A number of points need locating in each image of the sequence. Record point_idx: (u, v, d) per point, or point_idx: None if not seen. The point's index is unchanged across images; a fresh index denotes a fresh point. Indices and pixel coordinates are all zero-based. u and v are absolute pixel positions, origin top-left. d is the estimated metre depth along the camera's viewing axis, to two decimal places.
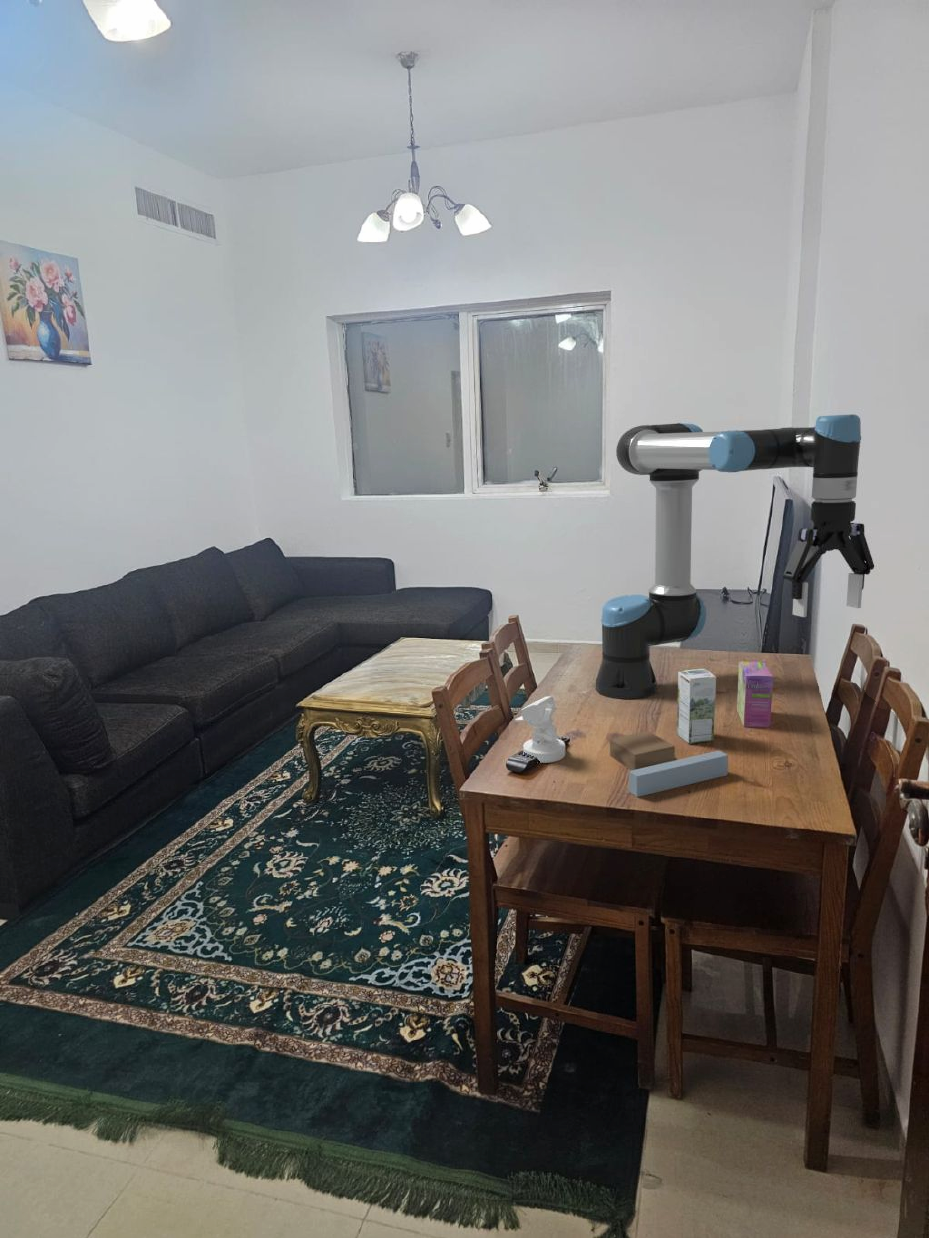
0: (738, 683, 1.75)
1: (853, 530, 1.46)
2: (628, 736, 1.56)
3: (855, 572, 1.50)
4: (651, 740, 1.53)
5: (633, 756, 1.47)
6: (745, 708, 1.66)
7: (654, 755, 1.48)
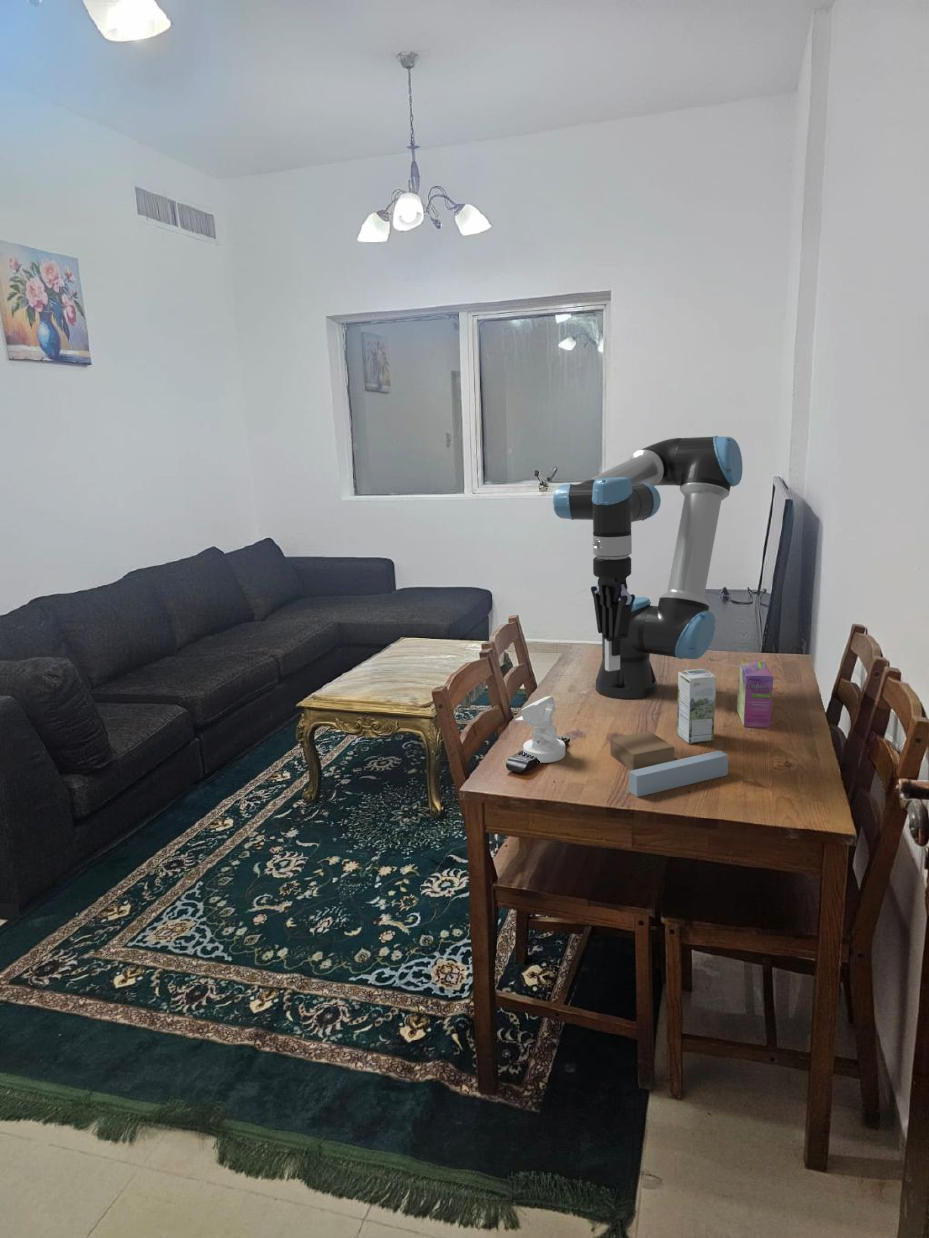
0: (738, 683, 1.75)
1: (622, 595, 1.51)
2: (629, 736, 1.56)
3: None
4: (651, 740, 1.53)
5: (631, 755, 1.48)
6: (745, 708, 1.66)
7: (653, 755, 1.48)
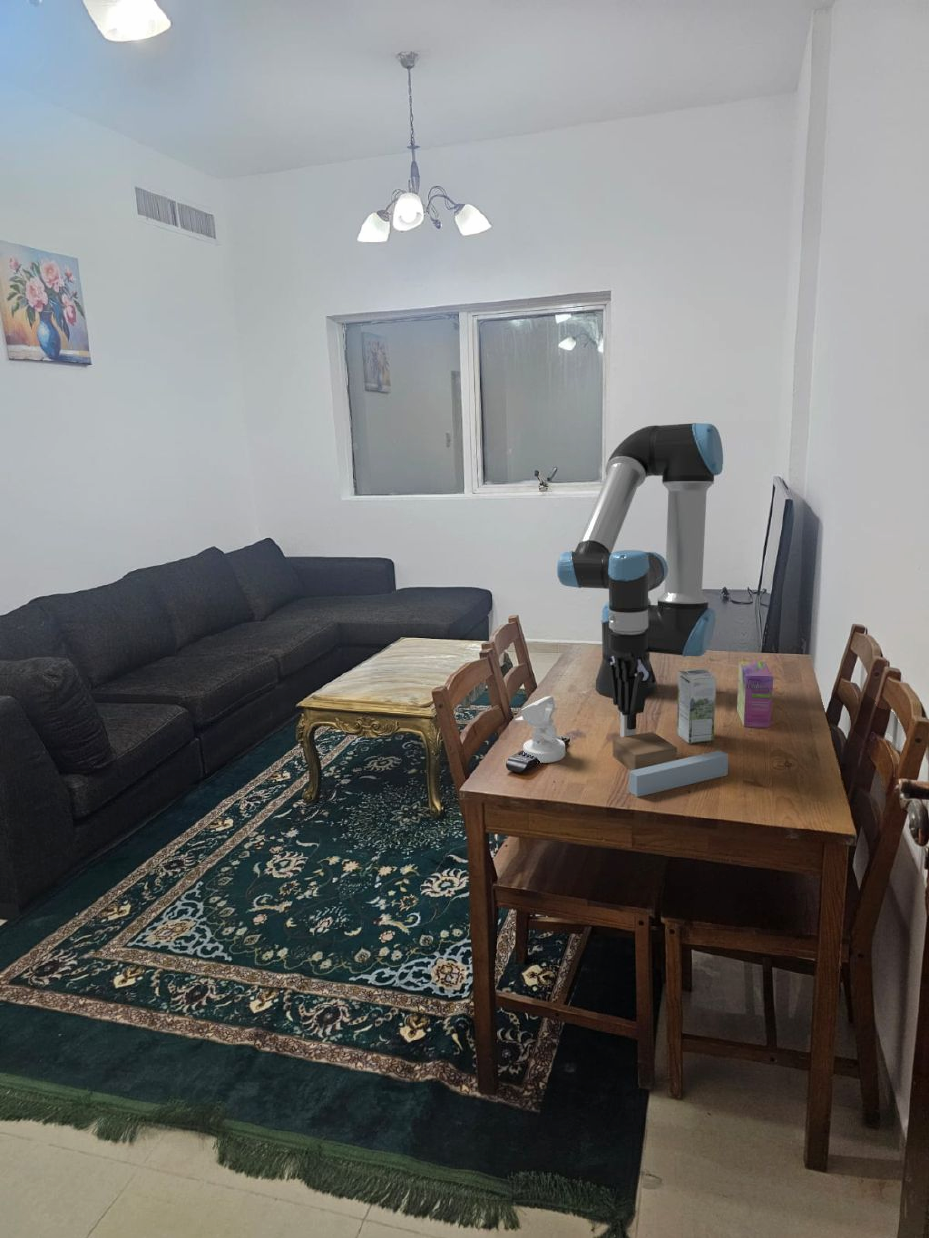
0: (738, 683, 1.75)
1: (638, 671, 1.49)
2: (632, 736, 1.55)
3: None
4: (654, 740, 1.52)
5: (633, 756, 1.47)
6: (745, 708, 1.66)
7: (655, 756, 1.48)
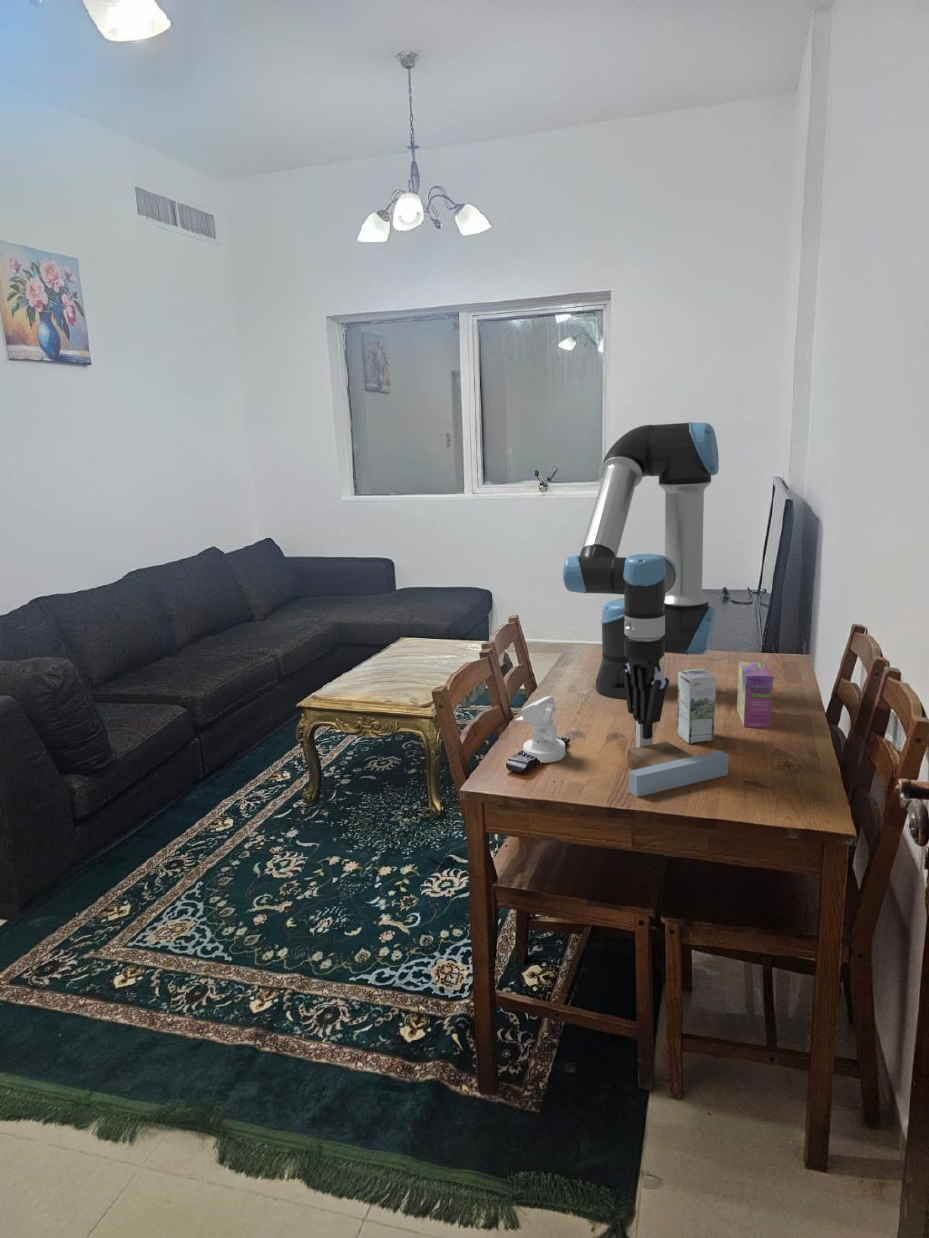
0: (738, 683, 1.75)
1: (655, 678, 1.44)
2: (647, 747, 1.50)
3: None
4: (671, 751, 1.48)
5: None
6: (745, 708, 1.66)
7: None
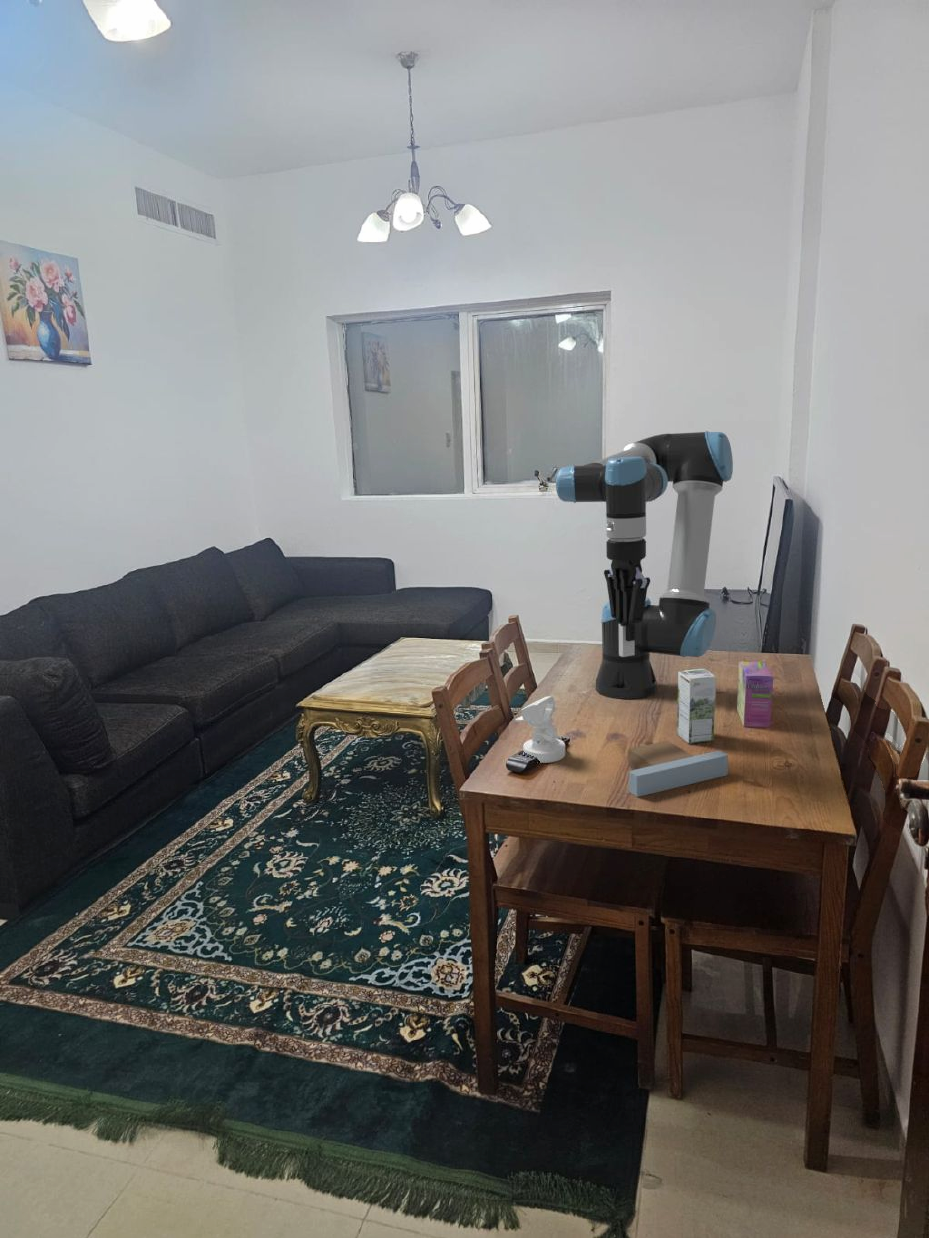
0: (738, 683, 1.75)
1: (636, 578, 1.47)
2: (647, 746, 1.50)
3: None
4: (671, 750, 1.48)
5: None
6: (745, 708, 1.66)
7: None
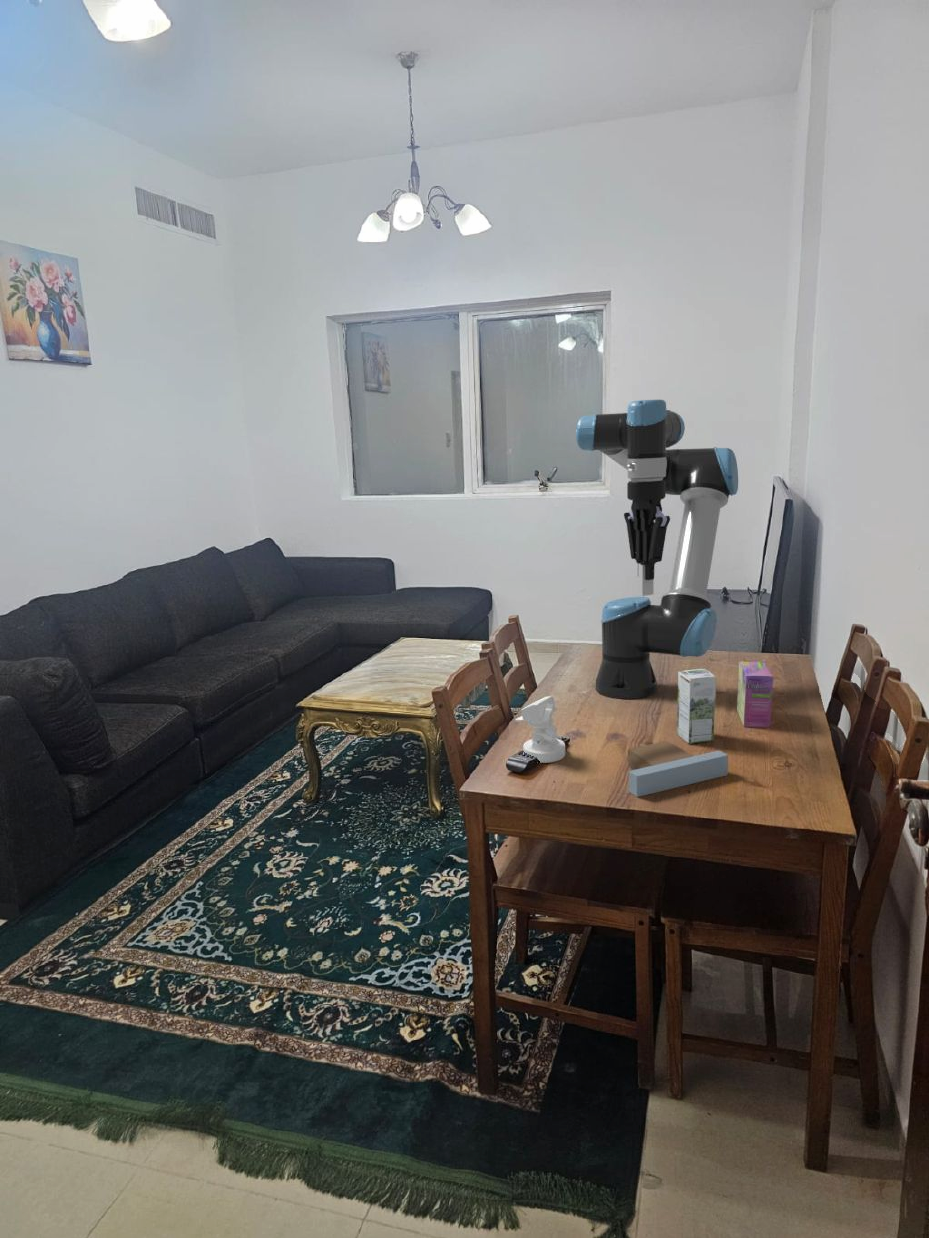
0: (738, 683, 1.75)
1: (657, 517, 1.52)
2: (647, 746, 1.50)
3: None
4: (671, 750, 1.48)
5: None
6: (745, 708, 1.66)
7: None
